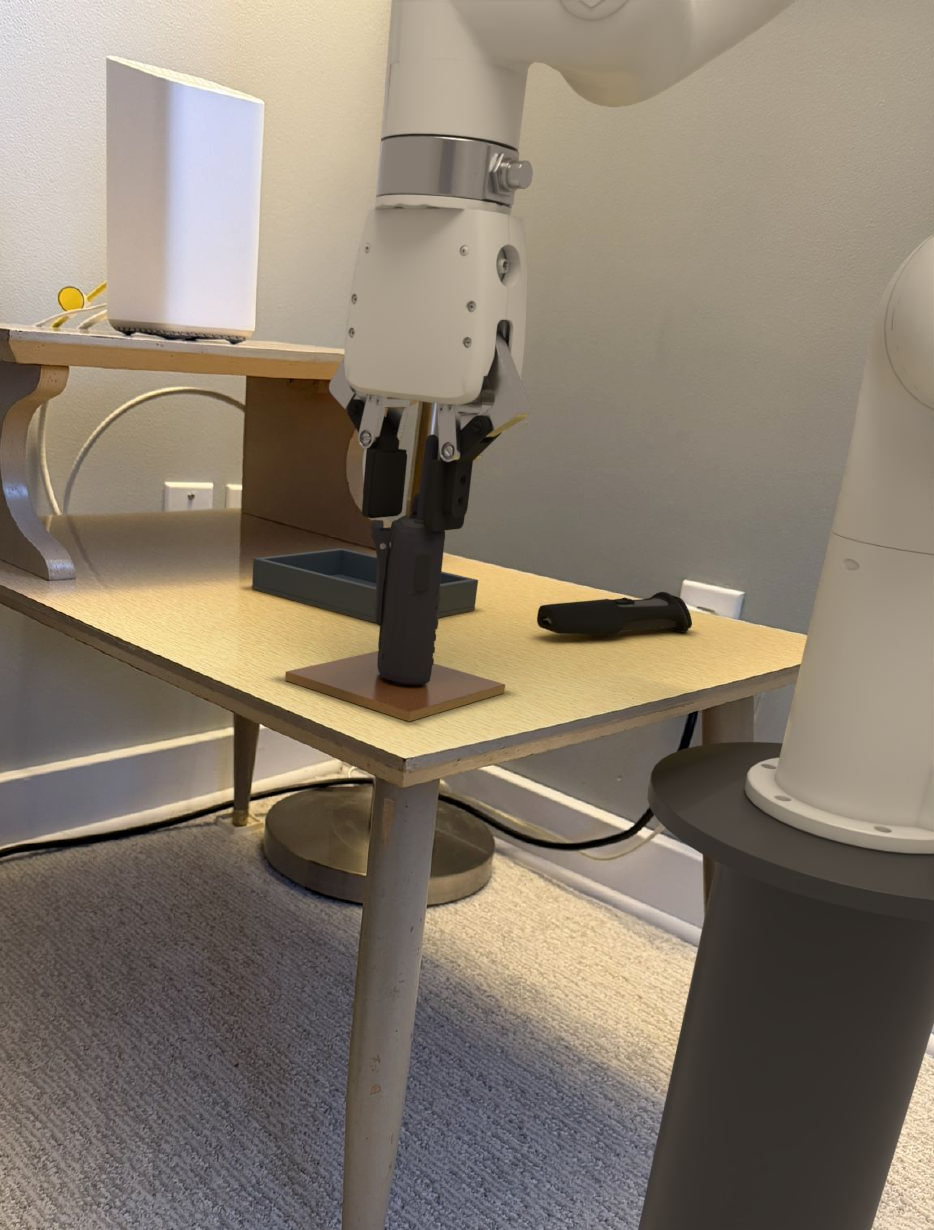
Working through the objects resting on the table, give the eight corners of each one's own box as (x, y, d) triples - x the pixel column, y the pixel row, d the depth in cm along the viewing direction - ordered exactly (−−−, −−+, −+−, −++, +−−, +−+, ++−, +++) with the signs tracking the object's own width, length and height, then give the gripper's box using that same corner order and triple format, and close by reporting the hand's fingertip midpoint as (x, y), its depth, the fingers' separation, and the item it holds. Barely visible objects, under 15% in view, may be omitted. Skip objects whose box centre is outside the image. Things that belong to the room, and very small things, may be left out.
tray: (474, 610, 97) (478, 579, 96) (391, 627, 89) (394, 593, 88) (338, 576, 106) (341, 547, 105) (251, 588, 98) (253, 558, 97)
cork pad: (504, 693, 75) (505, 684, 74) (408, 721, 67) (409, 712, 67) (384, 657, 81) (385, 649, 80) (284, 680, 73) (285, 671, 73)
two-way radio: (435, 691, 71) (461, 438, 66) (363, 687, 71) (383, 433, 66) (423, 666, 77) (446, 430, 71) (356, 663, 76) (374, 425, 71)
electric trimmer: (521, 637, 90) (526, 597, 89) (660, 622, 99) (666, 585, 97) (554, 649, 88) (559, 608, 86) (694, 633, 96) (701, 595, 95)
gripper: (614, 195, 62) (563, 542, 68) (372, 196, 71) (348, 499, 78) (538, 172, 56) (491, 552, 63) (288, 177, 66) (269, 504, 73)
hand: (412, 519), depth 70 cm, fingers closed on two-way radio, 4 cm apart
